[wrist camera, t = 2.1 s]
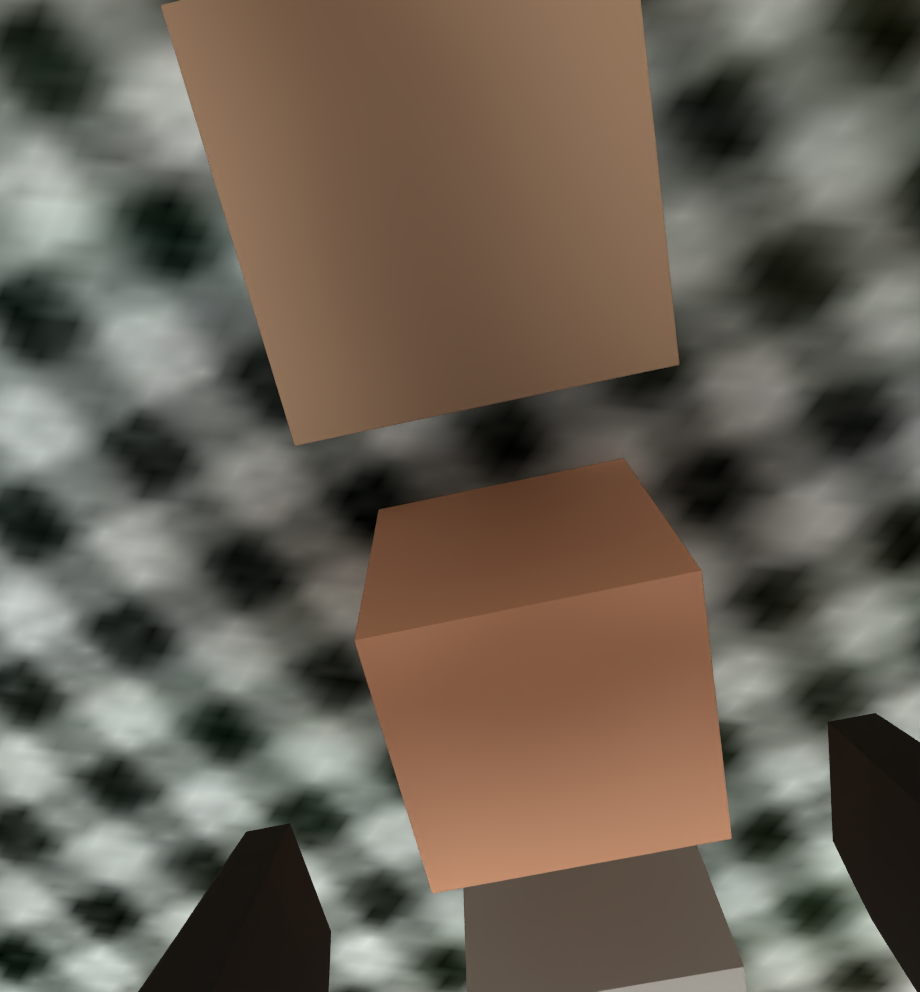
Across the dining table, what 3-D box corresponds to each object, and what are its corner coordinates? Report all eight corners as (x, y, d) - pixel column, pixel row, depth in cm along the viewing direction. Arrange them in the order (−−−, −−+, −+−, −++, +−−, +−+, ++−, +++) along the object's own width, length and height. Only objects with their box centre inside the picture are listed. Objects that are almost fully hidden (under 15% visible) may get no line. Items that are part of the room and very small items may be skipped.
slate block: (667, 770, 18) (744, 966, 14) (688, 919, 20) (762, 1138, 16) (460, 808, 19) (467, 1012, 14) (499, 952, 21) (517, 1175, 16)
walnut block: (558, -1, 13) (629, -109, 8) (602, 307, 14) (679, 364, 10) (261, 70, 13) (160, 4, 8) (340, 364, 15) (294, 445, 10)
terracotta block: (622, 456, 16) (701, 570, 11) (652, 664, 17) (731, 838, 13) (379, 507, 16) (354, 640, 11) (433, 707, 18) (431, 893, 13)
